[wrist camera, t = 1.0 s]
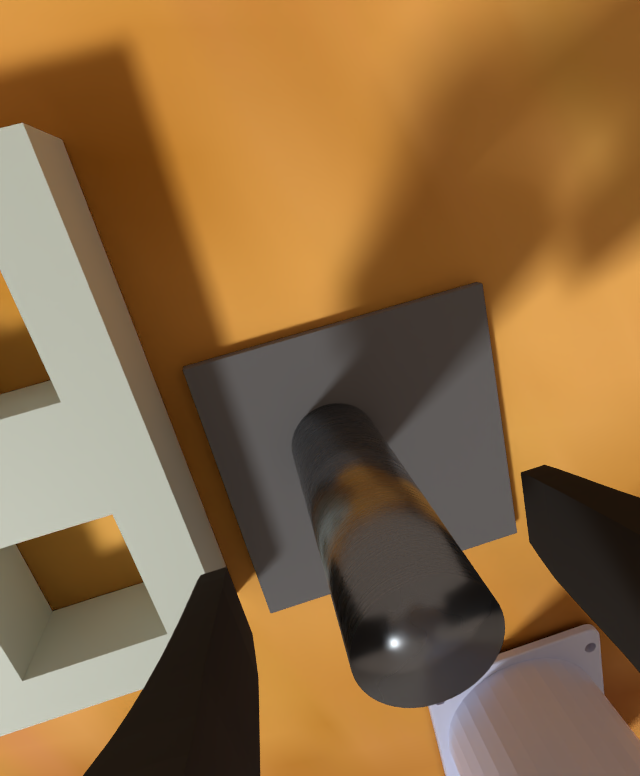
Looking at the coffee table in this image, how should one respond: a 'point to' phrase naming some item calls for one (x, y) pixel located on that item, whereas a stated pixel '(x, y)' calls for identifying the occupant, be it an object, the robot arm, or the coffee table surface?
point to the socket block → (83, 455)
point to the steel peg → (392, 566)
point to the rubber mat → (384, 407)
